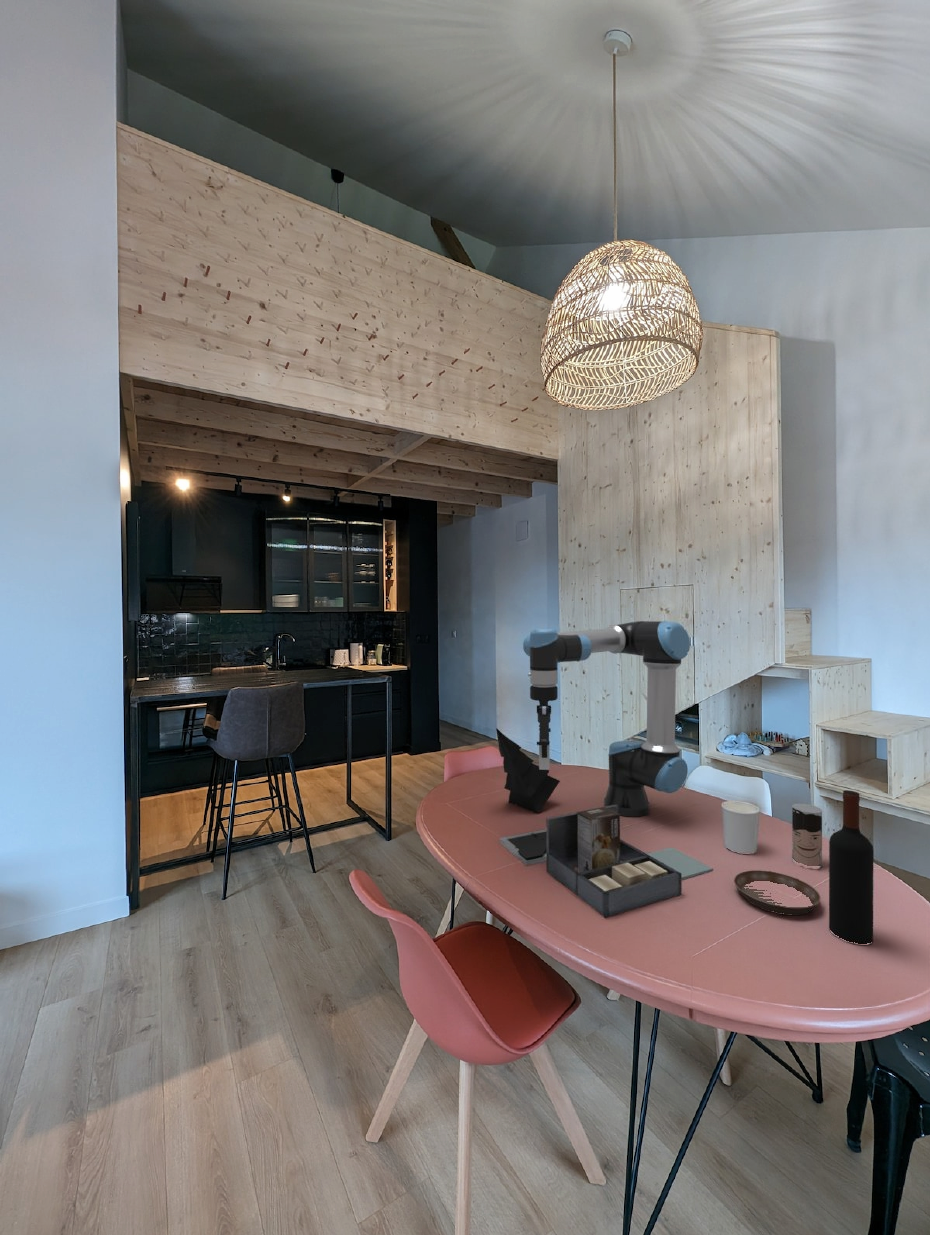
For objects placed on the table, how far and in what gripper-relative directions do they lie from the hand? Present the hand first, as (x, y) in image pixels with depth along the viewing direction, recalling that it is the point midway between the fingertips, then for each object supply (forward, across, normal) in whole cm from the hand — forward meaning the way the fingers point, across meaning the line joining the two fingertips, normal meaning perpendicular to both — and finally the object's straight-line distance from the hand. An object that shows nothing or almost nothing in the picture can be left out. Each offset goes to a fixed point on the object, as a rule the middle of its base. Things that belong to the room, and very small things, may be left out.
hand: (544, 762), depth 148 cm
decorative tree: (+27, -37, -7) cm, 46 cm away
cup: (+27, -6, +70) cm, 75 cm away
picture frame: (+28, -7, 0) cm, 29 cm away
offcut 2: (+27, +13, +26) cm, 39 cm away
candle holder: (+27, -13, +56) cm, 63 cm away
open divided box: (+27, +11, +16) cm, 33 cm away
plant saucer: (+27, +14, +54) cm, 62 cm away
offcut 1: (+27, +20, +14) cm, 36 cm away
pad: (+27, 0, +34) cm, 43 cm away
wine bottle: (+27, +27, +64) cm, 74 cm away
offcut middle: (+27, +16, +20) cm, 37 cm away
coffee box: (+27, +7, +14) cm, 31 cm away
